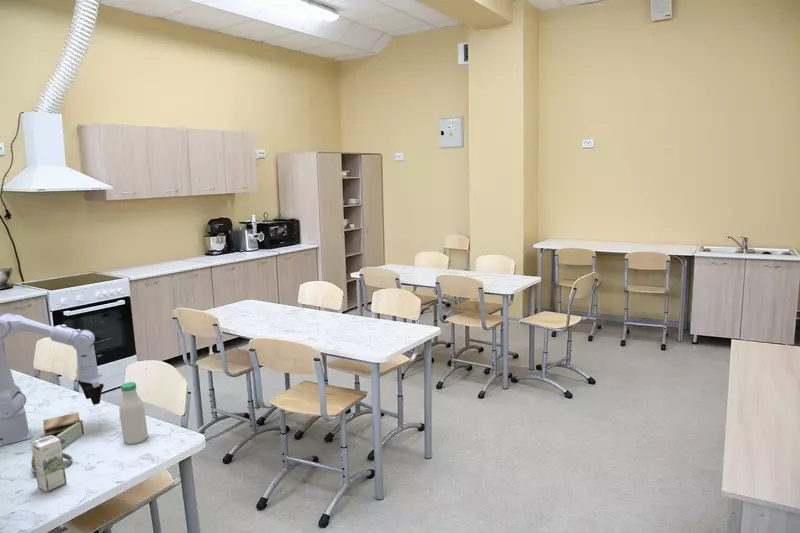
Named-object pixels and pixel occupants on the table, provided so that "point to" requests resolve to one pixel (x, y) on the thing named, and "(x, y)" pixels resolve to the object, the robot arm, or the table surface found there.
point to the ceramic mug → (63, 457)
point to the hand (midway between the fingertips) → (93, 401)
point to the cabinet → (61, 424)
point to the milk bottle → (132, 415)
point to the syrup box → (48, 463)
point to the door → (70, 434)
